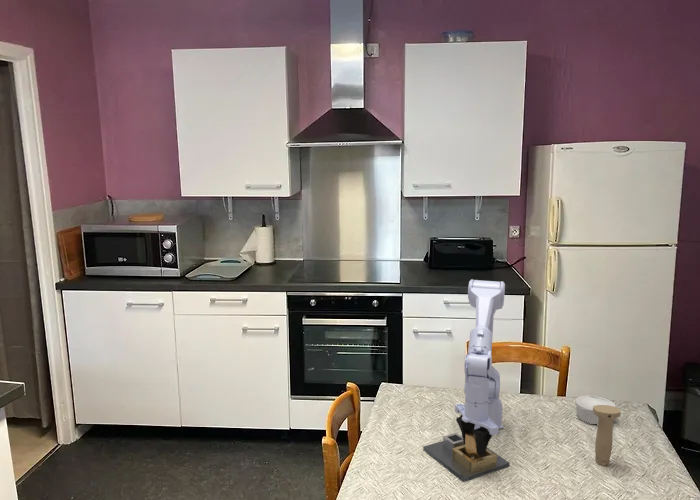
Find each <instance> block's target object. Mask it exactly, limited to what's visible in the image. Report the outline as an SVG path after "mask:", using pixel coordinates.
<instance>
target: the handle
mask: <svg viewBox="0 0 700 500" xmlns="http://www.w3.org/2000/svg"><path fill="white" fill-rule="evenodd" d="M621 412H622V411H621V409H620V408H618V407H617V406H616V407H614V406H609V405H596V406H593V413H594V414H595V415H596V416H598V417H599V421H598V426H597V428H596V429H597V430H596V436H595V443H594V453H595V454H594V455H595V458H594V459H595V462H596V464H597V465H600V466H602V465H603V466H602V467H605V466H609V464H610V462H611V461H610V459H611V456H612V449H613V431H614V430H613V427H614V424H613V423H614V420H615V419H618V418H620V416H621Z"/></svg>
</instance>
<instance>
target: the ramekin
mask: <svg viewBox="0 0 700 500" xmlns="http://www.w3.org/2000/svg"><path fill="white" fill-rule="evenodd" d="M574 402H575V406H576V415H577V418H579V420H580V421H582V420H583V421H585V422H587V423H586V424H588V423H591V424H598V421H599V417H598V416H596V415H595V414H594V413H593V406H596V405H609V406H614V407H617V406H616V404H615V403H614V402H612V401H611V400H609V399H607V398H604V397H602V396H597V395H589V394H588V395H586V394H585V395H580V396H578V397H576V399H575V401H574ZM583 421H582V422H583ZM585 422H584V423H585ZM591 424H590V425H591Z"/></svg>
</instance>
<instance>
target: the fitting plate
mask: <svg viewBox="0 0 700 500" xmlns="http://www.w3.org/2000/svg"><path fill="white" fill-rule="evenodd" d="M422 449H423V451H424V452H425V454H427V455H429V456H430V457H431V458H432V459H434V460H435V461H436V462H438V463H439V464H440V465H441V466H442V467H444V468H445V469H447V470H448V471H449V472H450V473H451V474H453V475H454V476H455V477H456V478H458V479H459V480H460V481H461V482H463V483H465V482H468V481H470V480H473V479H476V478H479V477H482V476H485V475H488V474H491V473H493V472H497V471H500V470H503V469H506V468H508V467H509V468H510V465H511V463H510V461H508V460H506V459H505V458H503V457H502V456H500V455H499V454H497V453H496V452H495V451H493V450H491V449H490V448H488V447H487V449H486V452H485V453H484V454H483V457H482V458H479V459H476V460H472V459H470V458H469V457H468V456H466V455H465V445H464V441H463V437H462V434H459V433H458V432H454V433H453V432H452V433H449V434H447V435H444V436H442V440H441V441H437V442H435V443H431V444H428V445H424V446H423V447H422Z"/></svg>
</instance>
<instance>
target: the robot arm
mask: <svg viewBox="0 0 700 500" xmlns="http://www.w3.org/2000/svg"><path fill="white" fill-rule="evenodd" d="M467 287H468V288H467V300H468V302H469V304H470V307H473V308H475V327H474V328H472V329H471V331H470V334H469V341H468V349H467V354H465V357H464V362H463V363H464V367H463V370H464V371H463V372H464V386H463V387H464V389H463V392H464V396H465V398H464V399H465V400H464V404H463V403H457V404H454V412H455V413H457V414H460V415H459V417H456V419H455V421H456V423H457V425H458V428H459V430H460V433H461V435H462V437H463V441H464V445H465V434H466V432H467V431H474V434H475V437H476V442H477V454H479V455H481V454H484V453H485V452H486V449H487V448H488V446H489V443H490V441H491V439H492V438H493V436H495V435H498V434H499V430H500V429H503V428H504V425H503V424H502V423H503V407H504V406H503V403H502V399H500V389H501V374H500V372H499V370H497V369H496V368H495V367H494V366H493V357H492V353H493V352H492V349H493V338H494V337H493V333H494V316H495V313H496V312H497V310H501V309H503V307H504V302H505V294H506V291H505V289H506V284H505V282H504V281H494V280H493V281H492V280H479V279H473V278H472V279H470V280H469V282H468V286H467Z"/></svg>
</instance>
